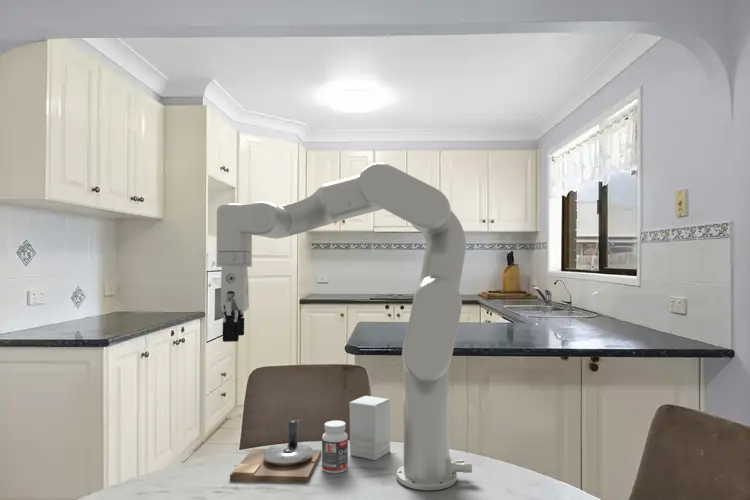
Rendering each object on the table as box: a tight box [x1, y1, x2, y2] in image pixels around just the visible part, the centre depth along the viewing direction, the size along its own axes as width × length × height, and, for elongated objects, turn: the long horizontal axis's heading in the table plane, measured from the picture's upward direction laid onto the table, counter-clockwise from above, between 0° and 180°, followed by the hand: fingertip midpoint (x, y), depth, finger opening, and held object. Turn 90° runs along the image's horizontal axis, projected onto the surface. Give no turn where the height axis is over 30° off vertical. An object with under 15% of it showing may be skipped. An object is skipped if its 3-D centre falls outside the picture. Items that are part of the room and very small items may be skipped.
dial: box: [263, 419, 314, 466], centre depth 114 cm, size 11×11×6 cm
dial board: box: [229, 448, 322, 484], centre depth 112 cm, size 16×16×2 cm
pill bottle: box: [321, 420, 349, 474], centre depth 111 cm, size 6×6×10 cm
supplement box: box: [348, 395, 391, 461], centre depth 121 cm, size 7×7×13 cm
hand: (233, 338), depth 110 cm, fingers open, 9 cm apart
